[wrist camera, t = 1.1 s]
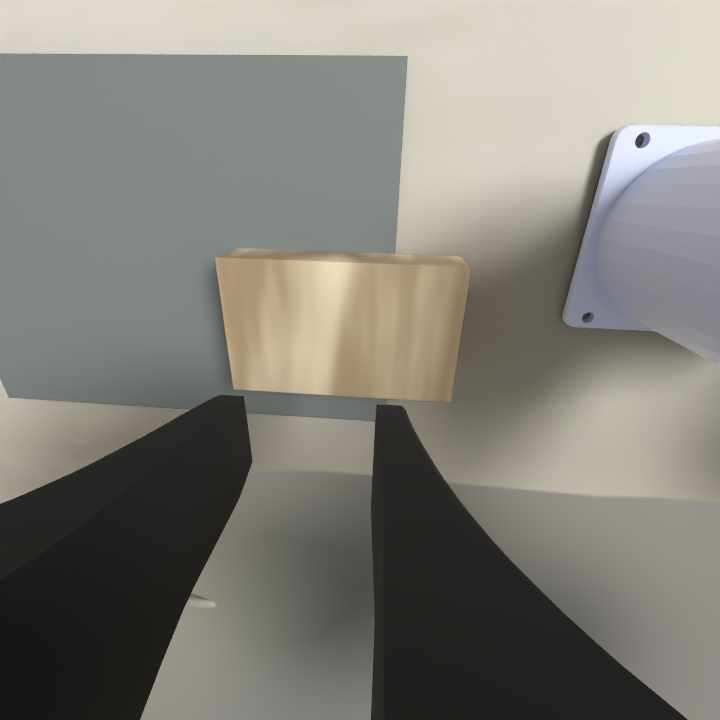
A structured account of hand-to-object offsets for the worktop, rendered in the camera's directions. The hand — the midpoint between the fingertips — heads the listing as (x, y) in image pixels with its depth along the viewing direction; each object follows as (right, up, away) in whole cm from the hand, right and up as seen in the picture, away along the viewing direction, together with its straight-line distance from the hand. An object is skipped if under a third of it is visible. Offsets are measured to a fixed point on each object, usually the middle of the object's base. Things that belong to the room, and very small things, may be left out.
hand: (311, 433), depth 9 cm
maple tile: (-5, +4, +8) cm, 10 cm away
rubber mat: (-8, +7, +9) cm, 14 cm away
